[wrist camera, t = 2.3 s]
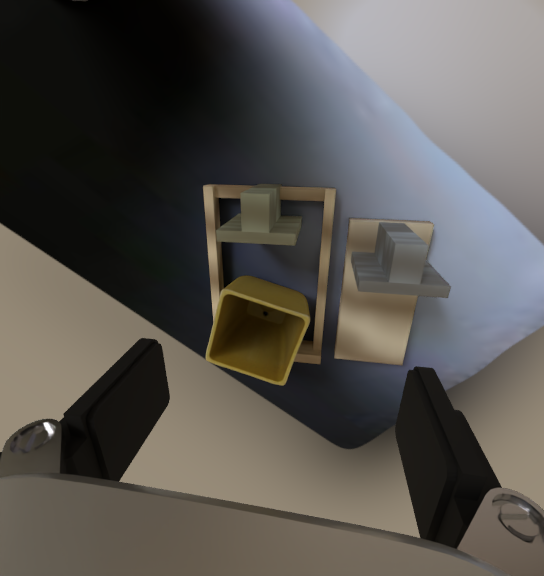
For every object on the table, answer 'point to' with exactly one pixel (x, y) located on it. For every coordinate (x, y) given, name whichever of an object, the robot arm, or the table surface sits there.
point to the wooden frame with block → (268, 237)
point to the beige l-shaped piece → (383, 288)
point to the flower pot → (258, 329)
